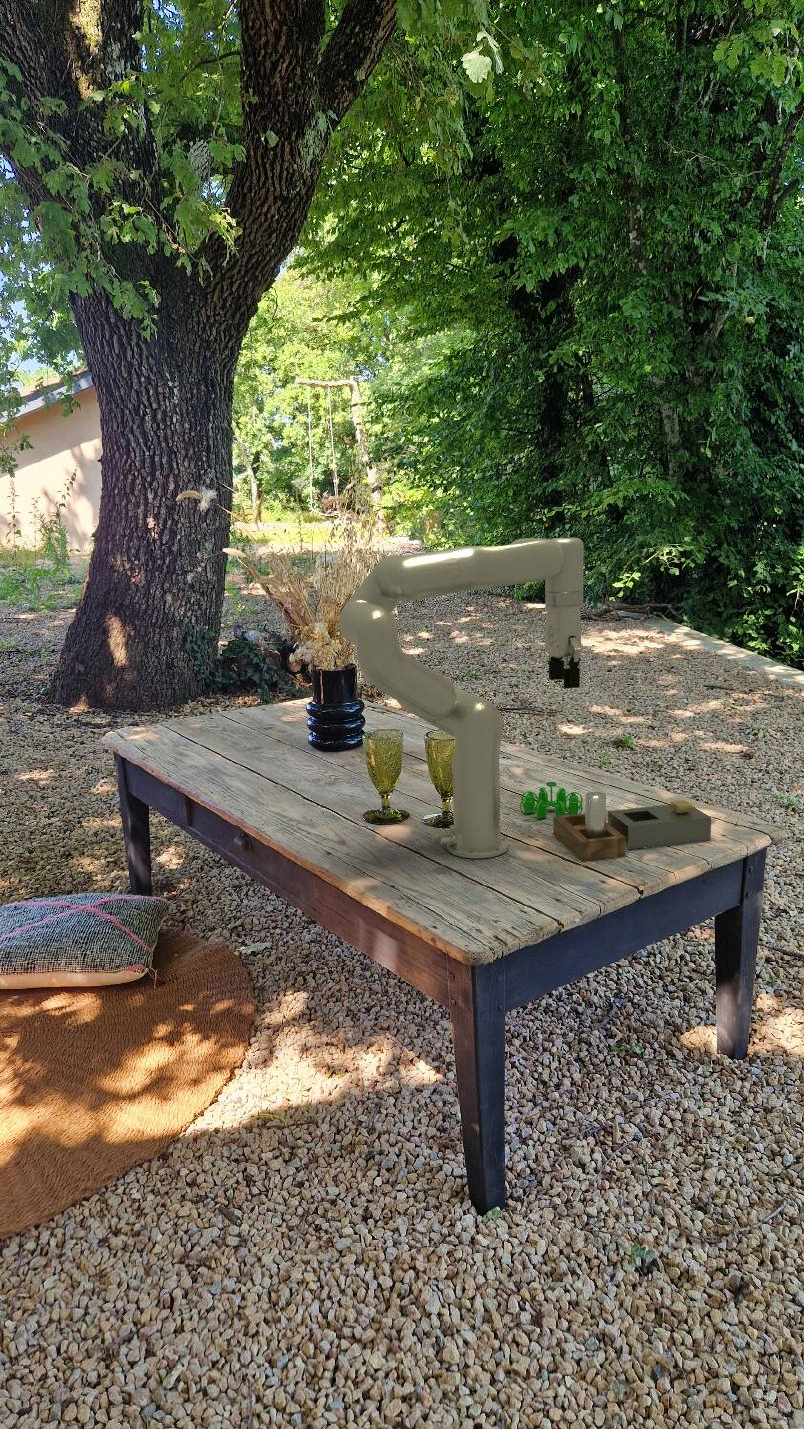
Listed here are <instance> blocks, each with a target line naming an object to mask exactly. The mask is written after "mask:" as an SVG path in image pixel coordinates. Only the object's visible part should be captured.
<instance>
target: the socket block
mask: <svg viewBox="0 0 804 1429" xmlns="http://www.w3.org/2000/svg"><path fill="white" fill-rule="evenodd" d="M607 823H608V824H609V825H610V826H612V827H613V828H614V829H615V830H617V831H618V832H619V833H621V834H622V835H623V836H624V837H626V839H625V847H626V848H627V849H628V850H627V849H626V848H625V849H626V850H627V851H630V850H629V849H634V850H637V849H636V848H642V849H645V848H644V847H651V848H653V847H652V846H660V847H667V846H675V845H676V846H677V845H685V844H692V843H693V844H694V843H701V842H710V841H711V836H712V835H711V834H712V817H711V816H710V815H708V814H707V813H705V812H703V811H701V810H700V809H698V808H696V807H695V806H693V805H692V812H687V813H685V814H678V813H676V812H675V811H673V810H672V809H670V804H662V805H661V804H660V805H653V806H644V807H634V808H633V807H632V808H626V809H617V810H614V809H613V810H607Z"/></svg>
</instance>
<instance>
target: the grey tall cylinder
mask: <svg viewBox="0 0 804 1429" xmlns="http://www.w3.org/2000/svg"><path fill="white" fill-rule="evenodd" d="M584 800H585V801H584V802H585V807H584V809H585V810H584V811H585V812H584V813H585V837H586V838H587V839H595V838H604V837H606V823H607V794H606V793H604V792H601V791H590V792H586V793H585V799H584Z"/></svg>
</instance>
